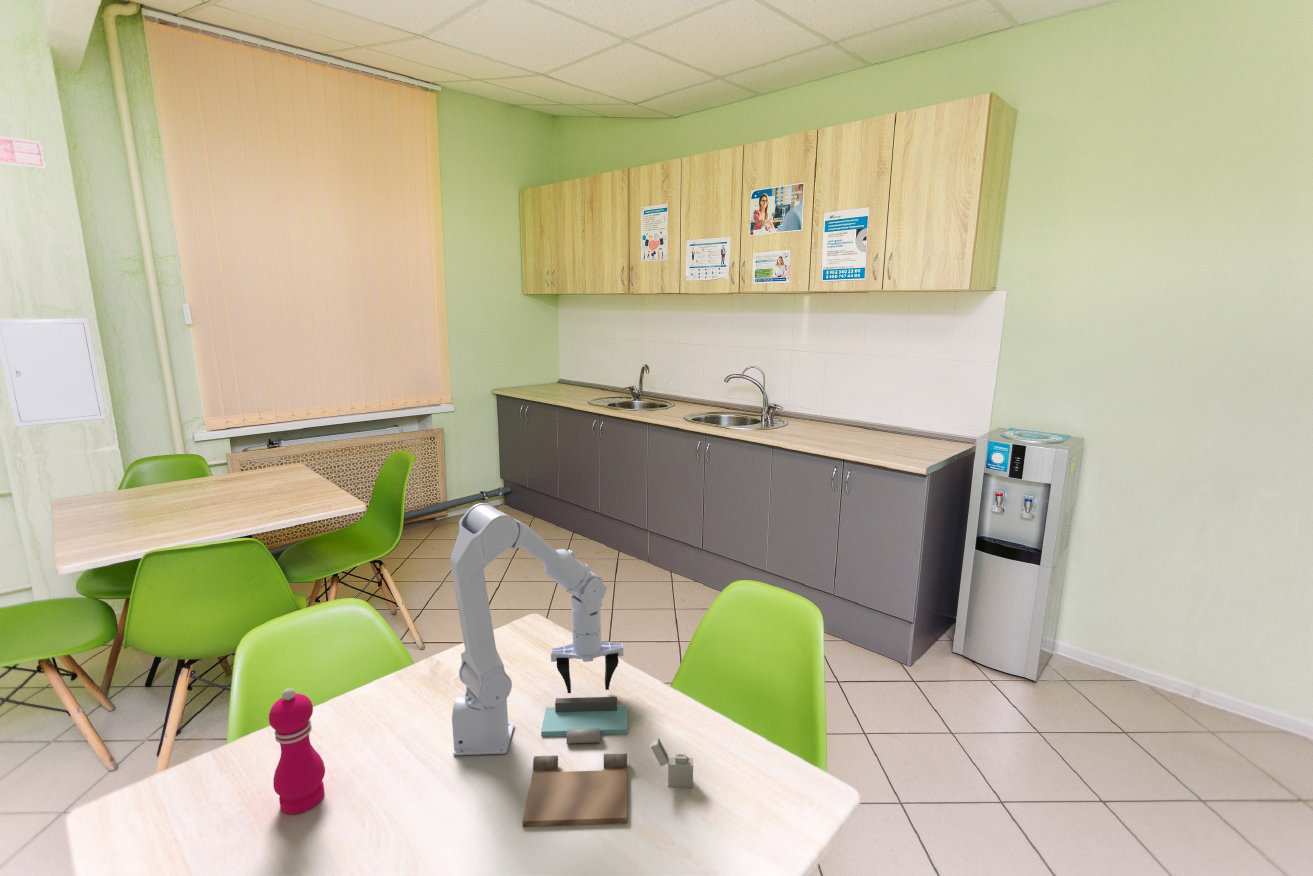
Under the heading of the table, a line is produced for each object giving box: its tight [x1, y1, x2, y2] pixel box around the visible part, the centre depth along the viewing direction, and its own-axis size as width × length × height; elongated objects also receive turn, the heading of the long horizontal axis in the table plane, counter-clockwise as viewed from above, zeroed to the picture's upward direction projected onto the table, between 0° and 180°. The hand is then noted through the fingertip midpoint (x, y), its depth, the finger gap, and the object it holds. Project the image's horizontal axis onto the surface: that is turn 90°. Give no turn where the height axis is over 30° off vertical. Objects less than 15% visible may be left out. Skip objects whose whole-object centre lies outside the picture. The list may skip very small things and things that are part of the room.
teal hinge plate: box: [540, 696, 628, 744], centre depth 118 cm, size 16×10×3 cm, turn 93°
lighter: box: [650, 737, 694, 789], centre depth 103 cm, size 7×2×8 cm, turn 86°
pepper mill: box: [268, 687, 326, 815], centre depth 99 cm, size 7×7×20 cm
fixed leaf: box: [521, 752, 628, 828], centre depth 102 cm, size 16×13×2 cm
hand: (588, 688), depth 127 cm, fingers open, 7 cm apart
